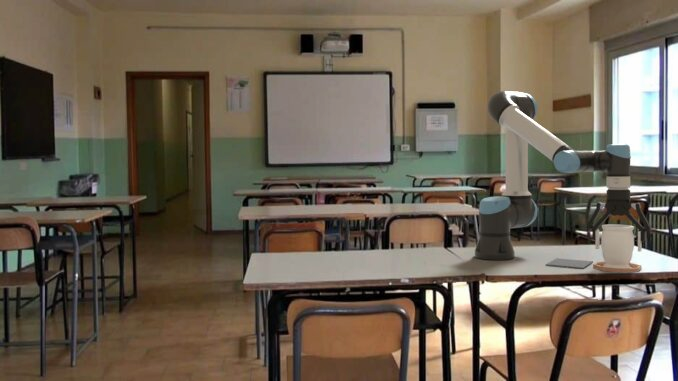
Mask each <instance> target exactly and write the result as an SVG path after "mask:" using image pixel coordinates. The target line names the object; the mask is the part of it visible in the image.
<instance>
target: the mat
mask: <svg viewBox="0 0 678 381" xmlns="http://www.w3.org/2000/svg"><path fill="white" fill-rule="evenodd" d="M593 264H594V261H592V260H582V259H569V258H555V259H553V260H551V261H549V262H547V263H545V267H554V268H566V267H568V268H567V269H579V270H584V269H586V268H587V267H589V266H590V265H593Z"/></svg>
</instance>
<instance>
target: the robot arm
mask: <svg viewBox="0 0 678 381" xmlns="http://www.w3.org/2000/svg"><path fill="white" fill-rule="evenodd" d="M537 103H538V102H537V101H536V99H535V98H534V97H533V96H532V95H531V94H529V93H525V92H521V91H520V92H519V91H507V90H500V91H498V92H497V91H496V93H494V94H492V95H491V96H490V98H489V99H488V102H487V104H486V106H487V107H486V111H487V114H488V116H489V117H490V118H491V119H492V120H493V121H494V122H495V123H496V124H498V125H499V126H501V128H502V129H503V130H504V132H505V190H504V191H503V192H502V193H501V195H500V196H499V195H498V196H497V195H496V196H489V197H488V196H487V197H484V198H483V199H481V200H480V201H479V208H478V212H479V213H478V214H479V215H478V217H479V218H478V223H479V224H478V225H479V226H478V228H479V230H478V231H479V234H478V240H477V243H476V245H475V249H474V257H475V258H477V259H479V260H481V259H482V260H491V261H506V260H507V261H508V260H513V259H515V250H514V246H513V243H512V239H511V229H518V228H519V229H521V228H524V227H525V228H526V227H528V226H530V225H532V224H533V223H534V222H535V220H536V219H537V216H538V206H537V203H535V201H534V200H533V195H532V193H531V192H530V191H529V187H528V186H529V180H528V178H529V177H528V176H529V173H528V172H529V171H528V169H529V167H528V166H529V165H528V164H529V157H528V156H529V155H528V153H529V150H528V149H529V148H528V147H529V145H530V146H531V147H533V148H534V149H535V150H537V151H538V152H540V153H541V154H542V155H544V157H546V158H548V159H549V160H550V161H551V162H553V165H554V168H555V169H556V170H557V171H558V172H559V173H564V174H565V173H566V174H572V173H573V174H574V173H591V172H593V173H596V172H597V173H599V172H605V173H606V189H607V188H608V189H607V190H606V201H605V202H600V201H598V202H596V205H595V206H596V208H595V210H594V212H593V214H592V216H591V217H590V219H589V221H588V223H587V225H586V228H587V229H590V230H591V231H592V232H591V233H592V238H591V239H593V240H595V250H599V249H600V229H599V227H600V226H602V225H603V223H604V222H605V221H606V220H607V219H608V218H609V217H610V216H611V215H612V216H615V217H616V216H618V217H619V216H620V217H623V216H626V218H628V219H629V221H631V223H632V224H633V225H634V227H636V228H637V229H638V230H639V231H638V232H637V252H641V251H642V249H643V248H642V242H645V240H646V233H647V232H649V231H650V230H652V227H651V225H650V223H649V221H648V219H647V217H646V216H645V213H644V211H643V210H642V206H641V203H640V202H637V203H631V190H630V188H631V158H632V156H631V147H630V145H629V144H627V143H625V144H624V143H617V144H607V145H606V149H605V150H575V149H574V148H573V147H571V146H570V145H568V144H567V143H565V142H564V141H562V140H561V139H560V138H558V137H557V136H555V135H554V134H553V133H552V132H550V130H548V129H546V128H545V127H543V126H542V125H540V124H539V123H537V122H536V121H535V120H534V119H535V117H536V116H537V114H538V109H539V108H538V104H537ZM604 207H605V209H606V210H607V211H606V212H605V213H604V214H603V215H602V217H601V218H600V219H598V221H597V222H596V223H595V221H596V219H597V217H598V216H599V214H600V212H601V210H602V209H604ZM632 208H633V209H634V211H636V213H637V214H638V216H639V218H640V221H641V222H639V220H638V219H636V217H635V216H634V215H633V213H632V212H631V211H630V210H631V209H632ZM641 223H642V224H643V225H642V224H641Z"/></svg>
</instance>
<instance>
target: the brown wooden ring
mask: <svg viewBox="0 0 678 381" xmlns="http://www.w3.org/2000/svg"><path fill="white" fill-rule="evenodd" d="M605 264H606V262H605V261H596V262H595V263H594V262H593V263H592V268H593V269H597V270H599V271H602V272H614V273H636V272H637V271H639V270H640V271H641V270H642V264H637V263H633V262H630V263H629V266H630V268H610V267H604V265H605ZM640 271H639V272H640Z"/></svg>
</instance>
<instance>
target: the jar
mask: <svg viewBox="0 0 678 381" xmlns="http://www.w3.org/2000/svg"><path fill="white" fill-rule="evenodd" d="M601 229H602V233H601V236H600V237H601V238H600V244H601V252H602V258H603V260H604V261H605V262H606V264H605V265H603V267H610V268H631V267H630V266H629V263H631V261H632V258H633V255H634V254H633V253H634V248H635V236H634V233H633V230H635V225H634V226H633V225H629V224H619V223H618V224H617V223H615V224H613V223H610V224H601Z"/></svg>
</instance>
